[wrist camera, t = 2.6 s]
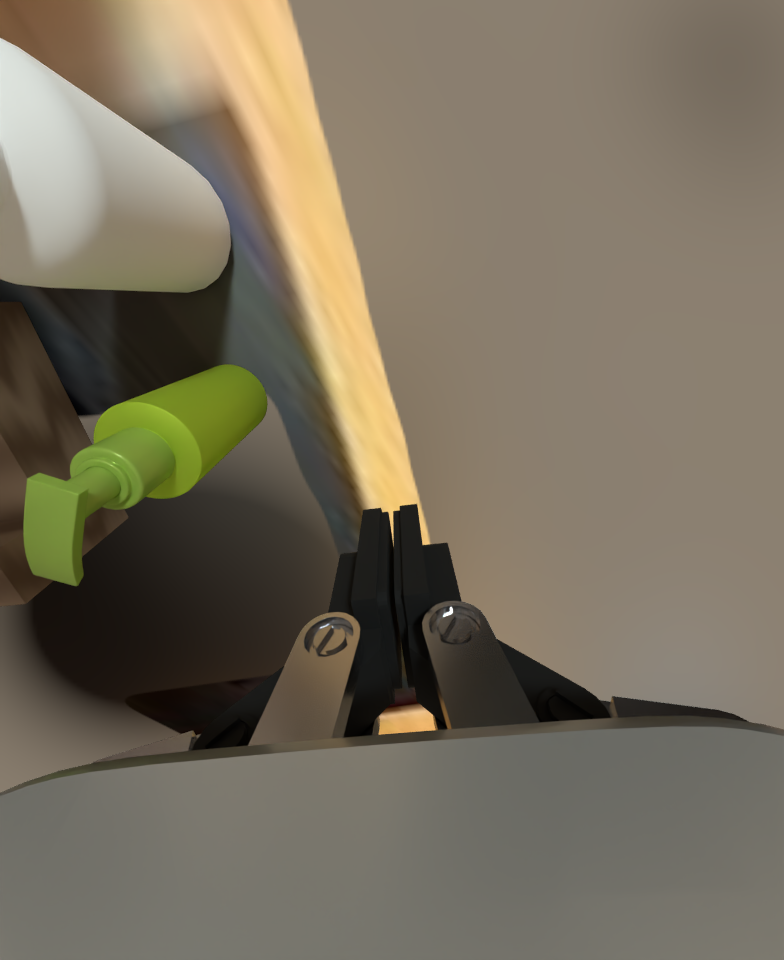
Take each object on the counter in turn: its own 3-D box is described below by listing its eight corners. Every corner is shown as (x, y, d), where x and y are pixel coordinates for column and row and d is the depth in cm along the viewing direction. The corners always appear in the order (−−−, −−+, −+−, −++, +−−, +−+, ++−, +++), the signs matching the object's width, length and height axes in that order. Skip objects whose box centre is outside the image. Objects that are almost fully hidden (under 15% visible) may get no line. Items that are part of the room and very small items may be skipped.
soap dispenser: (192, 427, 34) (-28, 568, 16) (206, 353, 31) (-40, 424, 13) (256, 449, 35) (116, 607, 17) (275, 380, 32) (132, 480, 14)
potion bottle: (219, 153, 26) (-68, -96, 10) (247, 289, 29) (72, 275, 13) (100, 162, 26) (-382, -67, 10) (142, 296, 30) (-158, 292, 13)
